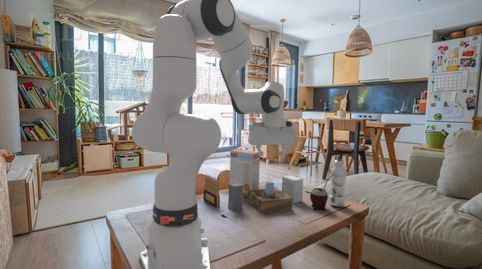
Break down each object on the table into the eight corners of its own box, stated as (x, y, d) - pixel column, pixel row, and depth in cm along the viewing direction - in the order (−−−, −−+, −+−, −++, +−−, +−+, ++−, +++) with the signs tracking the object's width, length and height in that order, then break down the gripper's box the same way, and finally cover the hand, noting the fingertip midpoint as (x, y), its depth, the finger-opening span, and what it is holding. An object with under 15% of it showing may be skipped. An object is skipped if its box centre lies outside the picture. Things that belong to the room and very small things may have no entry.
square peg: (242, 209, 107) (242, 185, 106) (233, 210, 105) (233, 186, 104) (237, 205, 111) (237, 182, 110) (228, 207, 109) (228, 183, 108)
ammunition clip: (219, 207, 109) (220, 178, 108) (216, 208, 108) (216, 179, 107) (206, 199, 117) (207, 173, 116) (203, 200, 116) (203, 173, 115)
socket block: (292, 209, 108) (292, 197, 108) (261, 213, 103) (261, 201, 103) (275, 198, 121) (276, 187, 121) (247, 201, 116) (248, 190, 116)
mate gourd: (306, 207, 111) (308, 172, 109) (316, 203, 116) (318, 170, 115) (321, 213, 105) (324, 176, 104) (332, 208, 110) (334, 173, 109)
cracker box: (259, 196, 124) (260, 152, 122) (251, 199, 120) (252, 153, 117) (237, 189, 133) (238, 148, 131) (228, 191, 129) (229, 149, 127)
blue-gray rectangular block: (274, 206, 111) (275, 183, 110) (267, 207, 110) (267, 183, 109) (270, 203, 115) (271, 180, 114) (263, 204, 113) (264, 181, 112)
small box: (302, 201, 118) (303, 178, 117) (293, 203, 115) (294, 180, 114) (289, 196, 125) (290, 174, 124) (281, 198, 121) (282, 176, 120)
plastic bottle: (345, 209, 110) (348, 162, 108) (328, 207, 112) (330, 161, 110) (344, 204, 116) (347, 159, 114) (328, 202, 118) (331, 158, 116)
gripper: (252, 122, 102) (251, 157, 103) (297, 123, 110) (295, 156, 111) (246, 121, 108) (245, 154, 109) (289, 122, 115) (288, 153, 117)
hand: (271, 155), depth 110 cm, fingers open, 8 cm apart
